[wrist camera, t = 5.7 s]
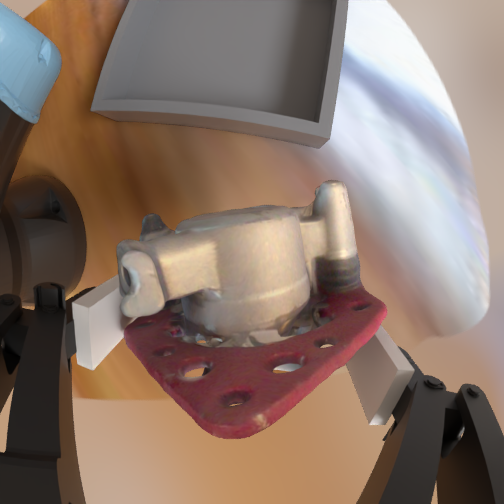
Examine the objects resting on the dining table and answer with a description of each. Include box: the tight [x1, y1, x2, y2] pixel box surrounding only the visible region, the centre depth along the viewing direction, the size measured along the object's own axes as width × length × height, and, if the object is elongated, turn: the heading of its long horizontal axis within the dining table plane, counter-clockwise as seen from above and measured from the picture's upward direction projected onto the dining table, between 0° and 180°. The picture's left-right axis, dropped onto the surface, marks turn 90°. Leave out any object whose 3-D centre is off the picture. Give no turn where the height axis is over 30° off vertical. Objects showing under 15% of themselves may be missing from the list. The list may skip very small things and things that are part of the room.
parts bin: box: [90, 0, 348, 148], centre depth 20 cm, size 20×20×5 cm
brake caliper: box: [117, 180, 387, 439], centre depth 13 cm, size 11×11×12 cm
